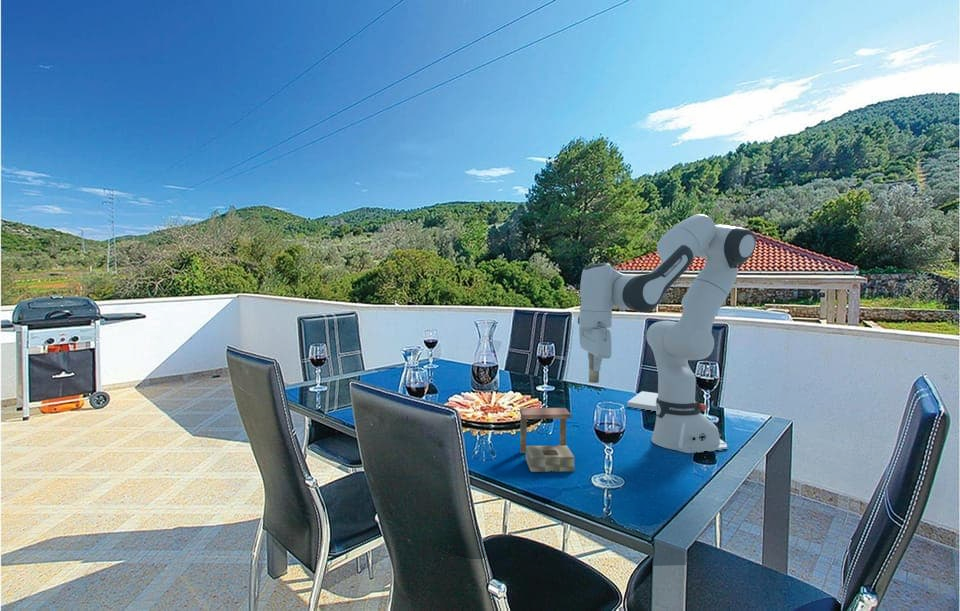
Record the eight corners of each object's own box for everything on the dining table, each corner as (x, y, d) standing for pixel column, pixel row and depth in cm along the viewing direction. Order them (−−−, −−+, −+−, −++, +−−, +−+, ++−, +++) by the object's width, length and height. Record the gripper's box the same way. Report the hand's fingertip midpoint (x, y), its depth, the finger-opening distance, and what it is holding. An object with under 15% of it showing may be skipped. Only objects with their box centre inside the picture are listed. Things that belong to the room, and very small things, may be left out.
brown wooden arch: (564, 450, 149) (565, 407, 149) (569, 458, 142) (570, 414, 142) (519, 450, 149) (519, 408, 148) (522, 459, 142) (523, 414, 141)
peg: (597, 380, 140) (597, 353, 140) (600, 382, 137) (600, 354, 137) (587, 380, 140) (588, 353, 140) (590, 382, 137) (590, 354, 137)
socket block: (566, 458, 142) (566, 445, 142) (574, 471, 133) (574, 456, 133) (525, 459, 142) (526, 445, 142) (530, 471, 133) (530, 457, 133)
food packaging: (665, 415, 191) (677, 403, 207) (665, 407, 191) (677, 395, 207) (627, 410, 199) (641, 398, 216) (627, 402, 199) (641, 391, 215)
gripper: (618, 324, 127) (616, 376, 128) (596, 317, 148) (595, 362, 149) (594, 324, 127) (593, 376, 128) (576, 317, 148) (575, 362, 148)
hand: (594, 369), depth 139 cm, fingers closed on peg, 3 cm apart
